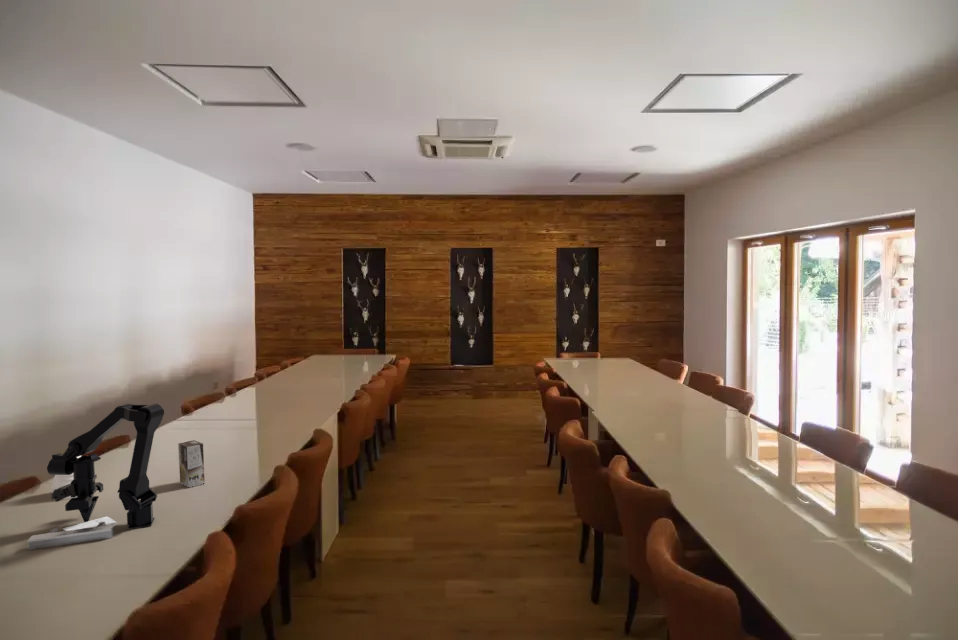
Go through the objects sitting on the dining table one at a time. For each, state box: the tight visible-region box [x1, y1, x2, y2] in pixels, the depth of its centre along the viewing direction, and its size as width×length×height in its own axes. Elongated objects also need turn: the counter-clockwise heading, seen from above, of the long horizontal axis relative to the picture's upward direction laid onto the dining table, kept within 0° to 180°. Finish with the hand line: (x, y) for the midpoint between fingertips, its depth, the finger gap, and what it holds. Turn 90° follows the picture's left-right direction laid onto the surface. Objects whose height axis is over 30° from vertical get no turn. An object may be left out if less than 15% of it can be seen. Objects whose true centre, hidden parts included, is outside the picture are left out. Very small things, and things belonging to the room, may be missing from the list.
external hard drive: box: [61, 515, 117, 531], centre depth 182 cm, size 2×8×12 cm
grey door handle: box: [27, 522, 115, 551], centre depth 174 cm, size 21×9×3 cm, turn 111°
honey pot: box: [51, 455, 82, 500], centre depth 214 cm, size 13×13×18 cm
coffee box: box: [177, 439, 205, 488], centre depth 223 cm, size 9×6×16 cm
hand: (86, 521), depth 185 cm, fingers closed
